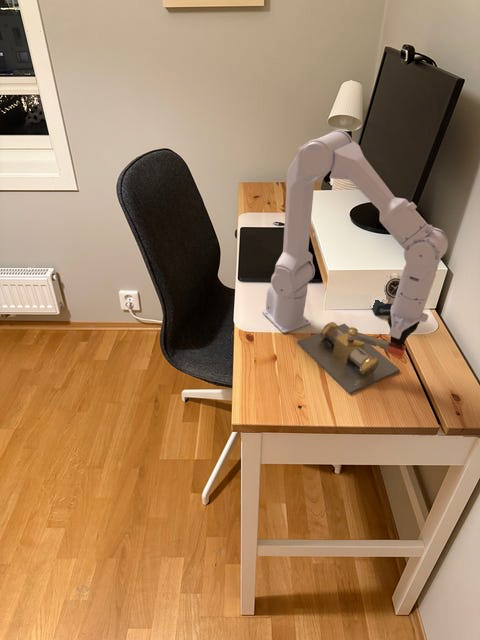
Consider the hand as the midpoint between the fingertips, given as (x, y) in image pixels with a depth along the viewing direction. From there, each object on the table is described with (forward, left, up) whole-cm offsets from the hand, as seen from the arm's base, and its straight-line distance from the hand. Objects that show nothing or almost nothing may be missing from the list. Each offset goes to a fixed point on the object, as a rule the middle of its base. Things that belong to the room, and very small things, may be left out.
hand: (395, 345), depth 95 cm
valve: (-7, -6, -6) cm, 11 cm away
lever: (-3, -4, -1) cm, 4 cm away
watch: (-16, +14, -6) cm, 22 cm away
